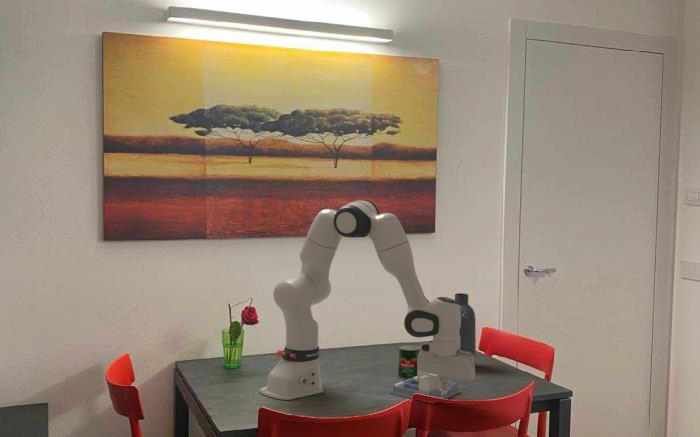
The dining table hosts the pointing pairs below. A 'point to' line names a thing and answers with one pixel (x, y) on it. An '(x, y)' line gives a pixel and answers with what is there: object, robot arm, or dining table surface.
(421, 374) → the far tab
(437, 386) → the middle tab
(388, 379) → the dining table surface
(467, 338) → the vase
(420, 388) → the near tab
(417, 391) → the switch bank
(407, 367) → the canned tomato
